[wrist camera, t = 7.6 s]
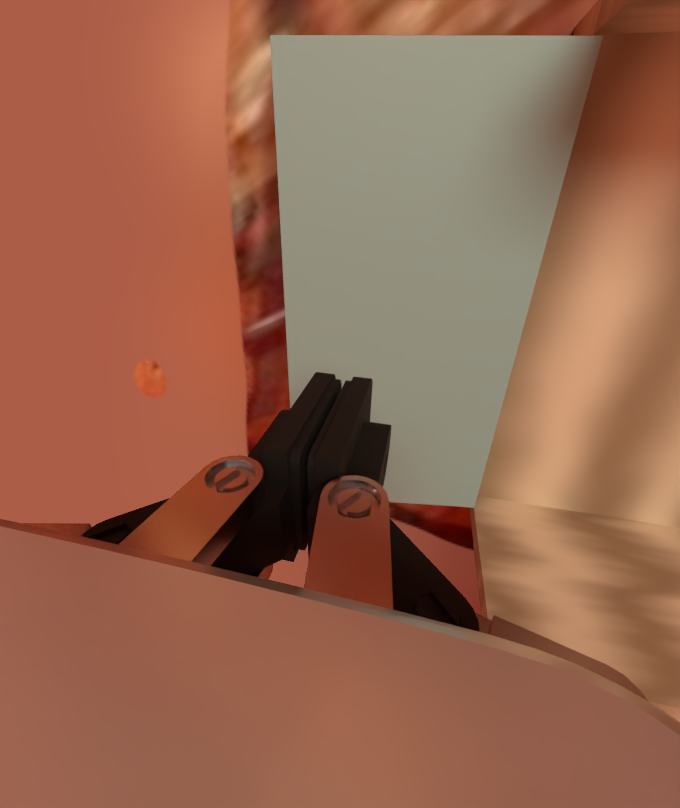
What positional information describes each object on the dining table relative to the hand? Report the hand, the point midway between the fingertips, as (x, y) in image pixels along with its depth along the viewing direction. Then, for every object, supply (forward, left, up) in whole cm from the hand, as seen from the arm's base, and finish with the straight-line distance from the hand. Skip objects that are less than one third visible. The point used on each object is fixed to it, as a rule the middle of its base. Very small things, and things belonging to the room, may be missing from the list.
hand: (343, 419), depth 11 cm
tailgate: (-7, 0, -10) cm, 12 cm away
